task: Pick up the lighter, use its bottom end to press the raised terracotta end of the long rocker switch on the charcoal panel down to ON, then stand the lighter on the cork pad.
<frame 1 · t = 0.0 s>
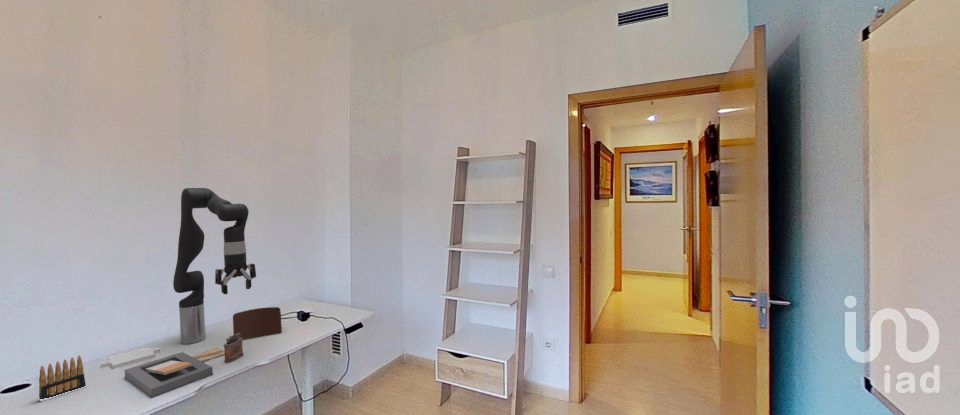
hand: (237, 291, 148), 29 cm above the table, tool pointing down, fingers open, 8 cm apart
rocker: (168, 367, 138), point 4 cm above the table, hinge at -10.0°
lighter: (234, 359, 152), on the table
mounting plate: (131, 360, 154), on the table
letter holder: (258, 334, 179), on the table
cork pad: (209, 355, 155), on the table
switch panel: (168, 376, 138), on the table
ammunition clip: (63, 394, 127), on the table
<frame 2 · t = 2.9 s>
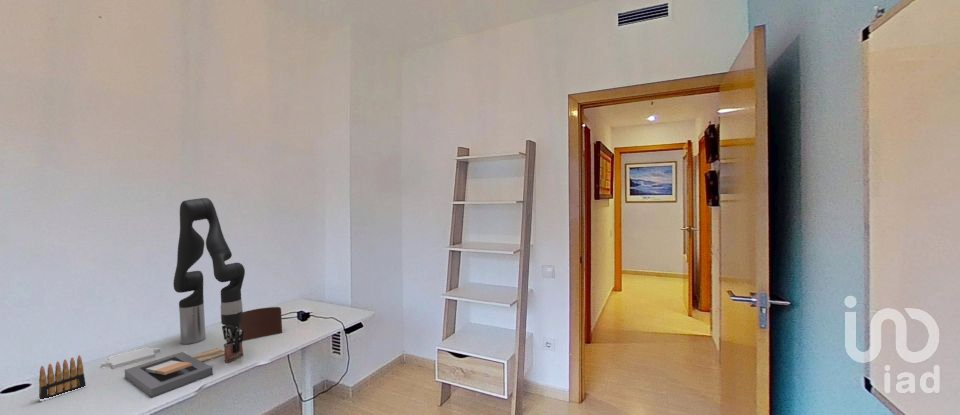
hand: (233, 351, 152), 3 cm above the table, tool pointing down, fingers closed on lighter, 4 cm apart
lighter: (234, 359, 152), on the table, touching gripper
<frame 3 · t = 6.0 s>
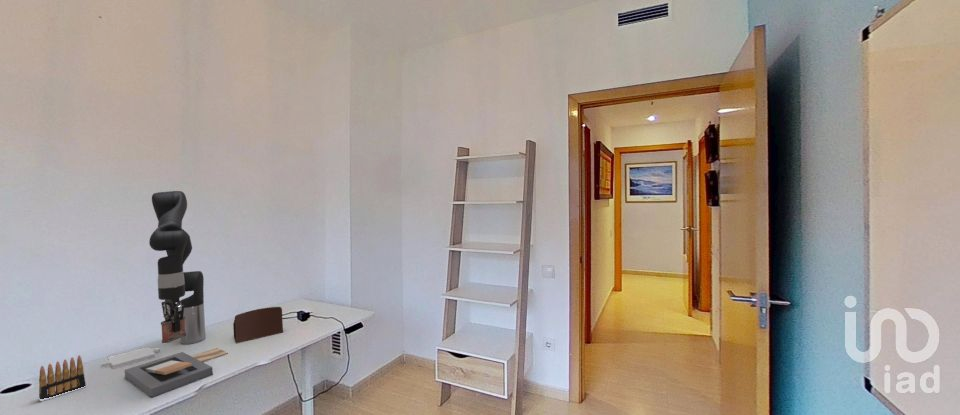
hand: (173, 330, 134), 19 cm above the table, tool pointing down, fingers closed on lighter, 4 cm apart
lighter: (174, 339, 134), point 16 cm above the table, touching gripper
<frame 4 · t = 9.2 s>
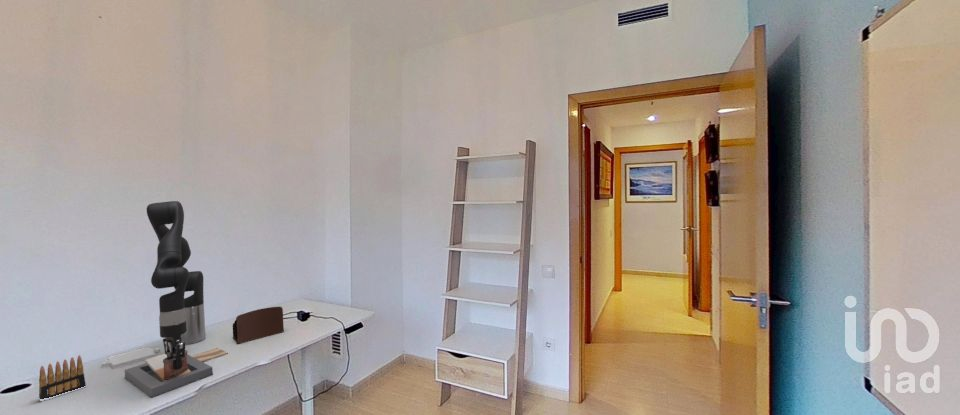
hand: (175, 367, 133), 5 cm above the table, tool pointing down, fingers closed on lighter, 4 cm apart
rocker: (168, 367, 138), point 4 cm above the table, hinge at 11.0°, touching lighter
lighter: (175, 375, 134), point 2 cm above the table, touching gripper, rocker
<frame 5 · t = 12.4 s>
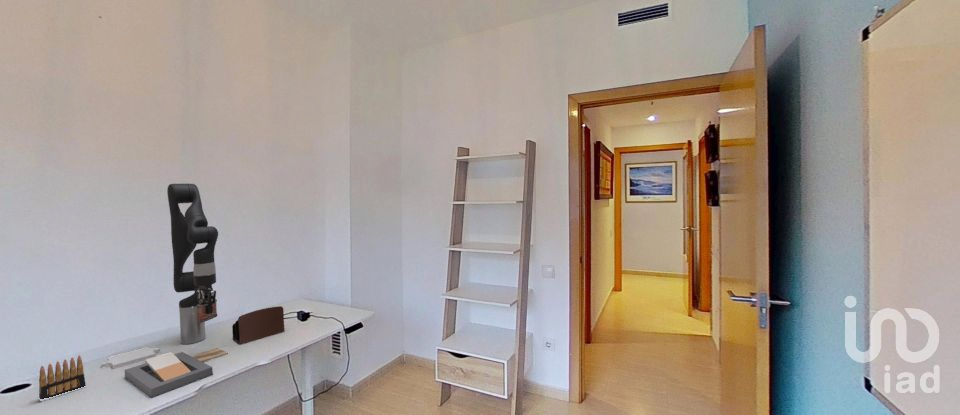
hand: (206, 312, 155), 19 cm above the table, tool pointing down, fingers closed on lighter, 4 cm apart
rocker: (168, 367, 138), point 4 cm above the table, hinge at 11.0°
lighter: (207, 319, 156), point 16 cm above the table, touching gripper
when the fingers open (4 cm above the table, at t = 15.4 s): lighter stays where it is, resting on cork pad.
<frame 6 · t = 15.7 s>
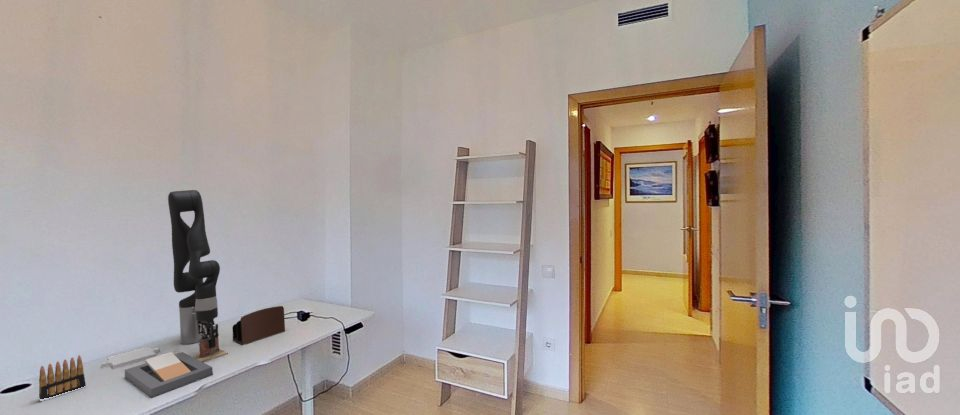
hand: (208, 345, 155), 4 cm above the table, tool pointing down, fingers open, 6 cm apart
lighter: (209, 354, 156), resting on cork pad
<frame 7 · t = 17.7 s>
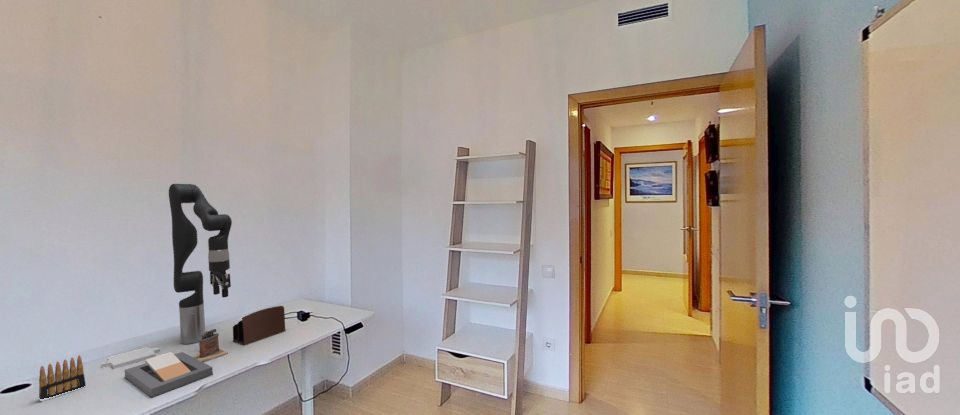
hand: (220, 295, 160), 25 cm above the table, tool pointing down, fingers open, 8 cm apart
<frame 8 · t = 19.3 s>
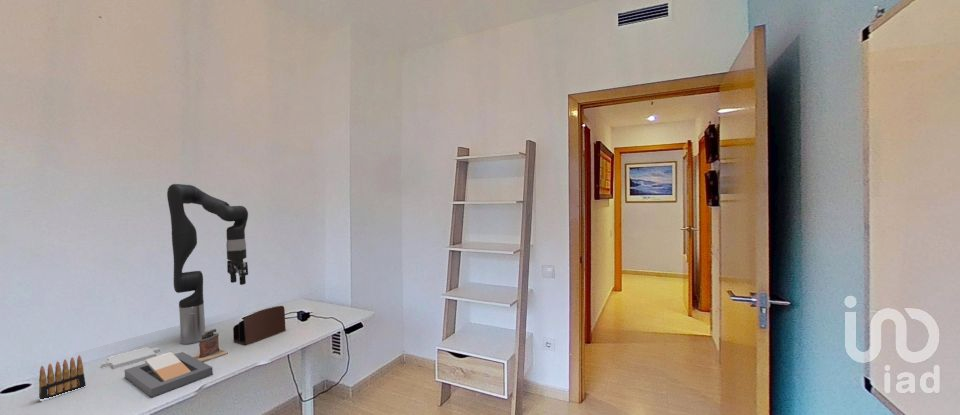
hand: (238, 283, 168), 28 cm above the table, tool pointing down, fingers open, 8 cm apart
at the end: rocker at +11° (first picture: -10°); lighter inside the target area on the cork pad (0.7 cm from its centre), point 0.4 cm above the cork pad's base; lighter tilted 0° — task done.
